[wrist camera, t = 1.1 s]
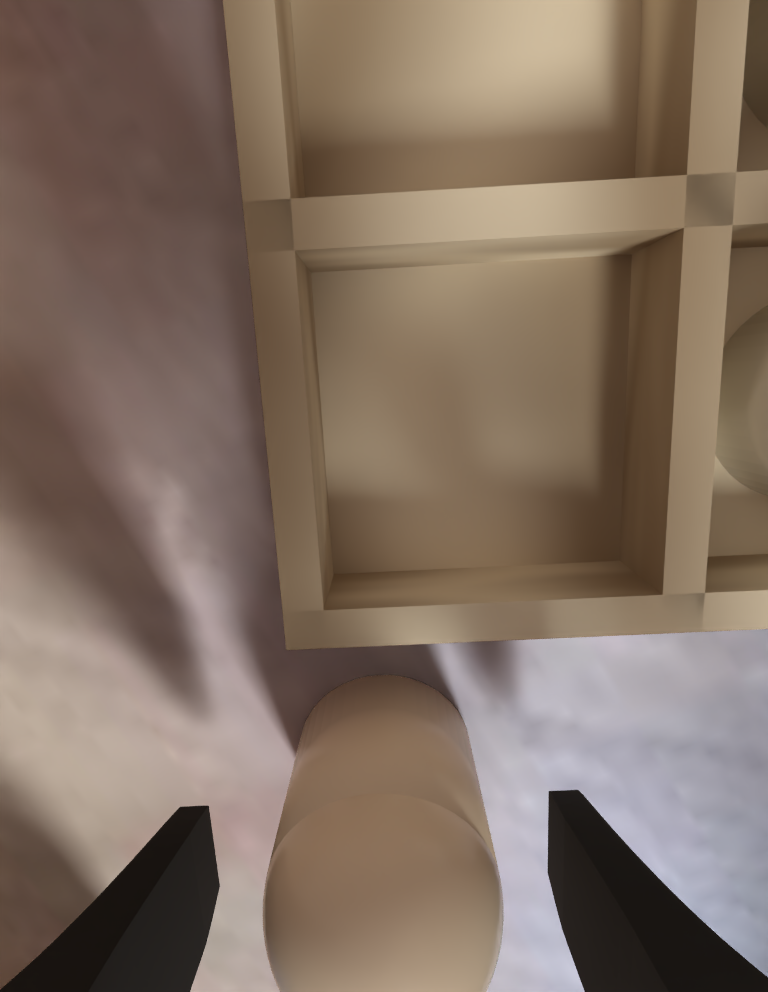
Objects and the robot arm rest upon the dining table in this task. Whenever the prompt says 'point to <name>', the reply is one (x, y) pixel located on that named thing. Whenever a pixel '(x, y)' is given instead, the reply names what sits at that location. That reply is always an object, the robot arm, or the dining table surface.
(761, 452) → the cream egg
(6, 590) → the dining table surface
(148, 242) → the dining table surface
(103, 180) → the dining table surface
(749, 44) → the cream egg
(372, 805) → the brown egg
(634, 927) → the robot arm
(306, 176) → the caddy
